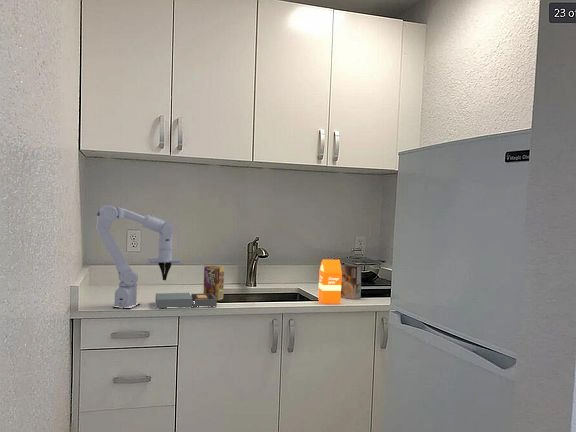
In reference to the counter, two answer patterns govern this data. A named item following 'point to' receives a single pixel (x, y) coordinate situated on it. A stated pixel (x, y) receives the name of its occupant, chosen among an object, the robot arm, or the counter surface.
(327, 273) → the orange juice
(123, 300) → the robot arm
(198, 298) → the orange block
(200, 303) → the tray
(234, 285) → the counter surface
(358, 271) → the coffee box
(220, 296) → the candy box
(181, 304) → the slate board
